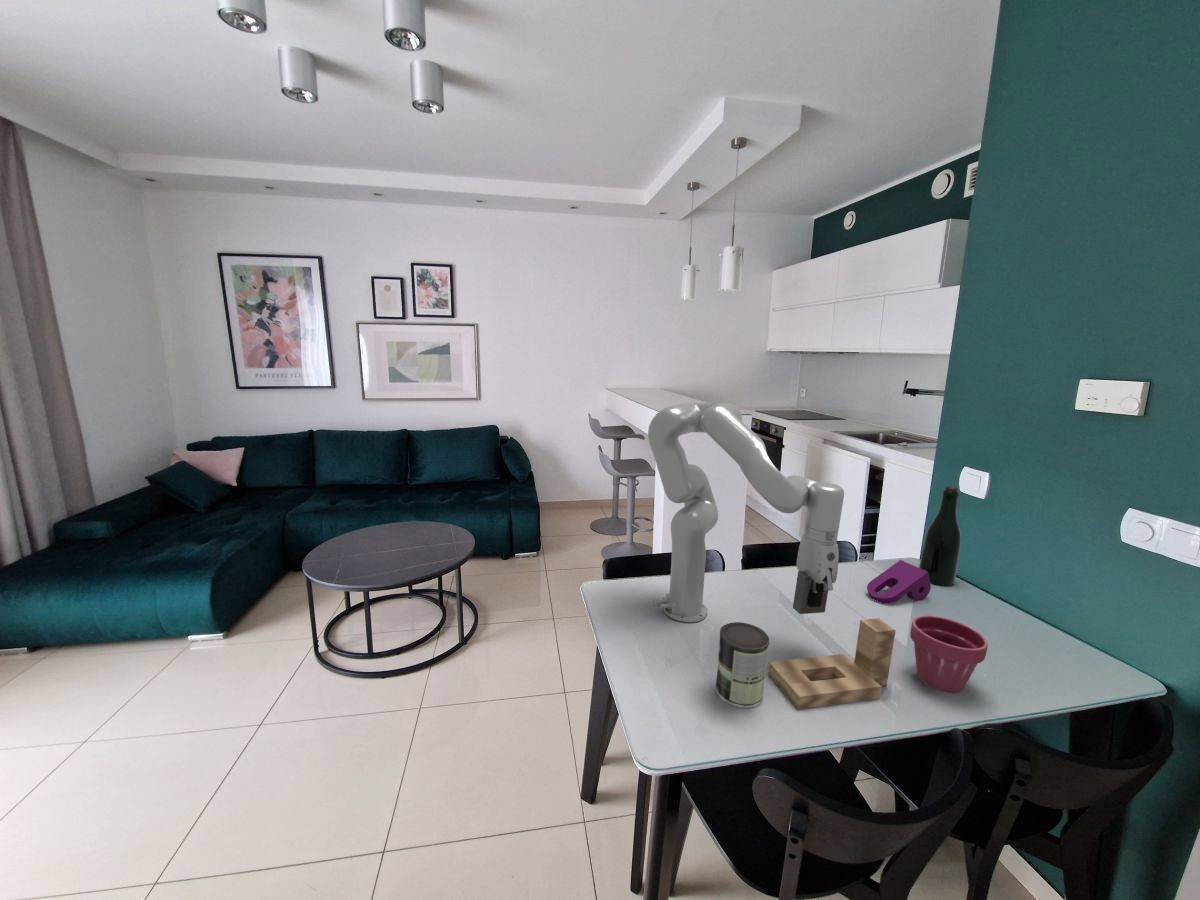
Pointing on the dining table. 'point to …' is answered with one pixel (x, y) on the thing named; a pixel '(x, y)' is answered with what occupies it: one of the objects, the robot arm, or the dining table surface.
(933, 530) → the beer bottle
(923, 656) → the plant pot
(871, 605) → the dining table surface
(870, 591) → the mounting bracket
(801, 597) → the tall grey upright slab
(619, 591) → the dining table surface
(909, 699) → the dining table surface
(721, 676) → the coffee can
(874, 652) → the wooden slotted base
